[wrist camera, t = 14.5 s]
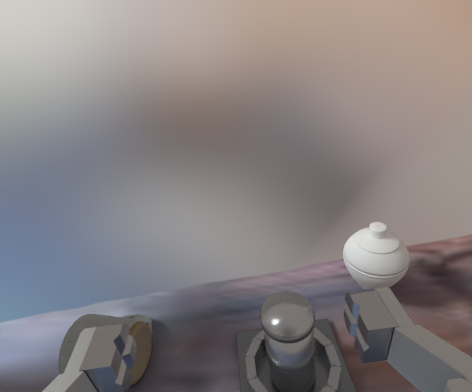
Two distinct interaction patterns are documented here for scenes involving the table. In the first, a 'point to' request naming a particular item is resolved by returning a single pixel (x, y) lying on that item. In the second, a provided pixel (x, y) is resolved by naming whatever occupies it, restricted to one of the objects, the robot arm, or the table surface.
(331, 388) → the duct flange
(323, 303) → the table surface
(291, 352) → the lidded canister
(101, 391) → the robot arm
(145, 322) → the ceramic mug
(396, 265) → the spinning top
